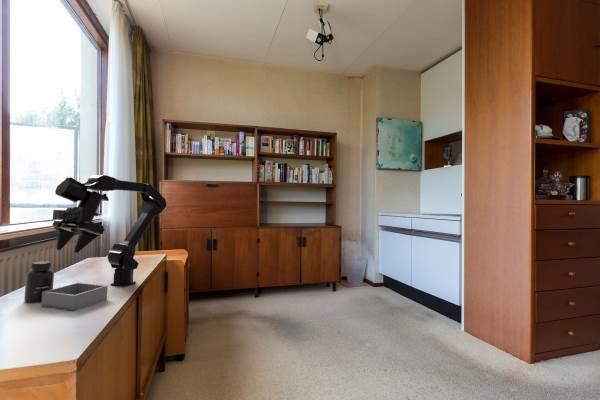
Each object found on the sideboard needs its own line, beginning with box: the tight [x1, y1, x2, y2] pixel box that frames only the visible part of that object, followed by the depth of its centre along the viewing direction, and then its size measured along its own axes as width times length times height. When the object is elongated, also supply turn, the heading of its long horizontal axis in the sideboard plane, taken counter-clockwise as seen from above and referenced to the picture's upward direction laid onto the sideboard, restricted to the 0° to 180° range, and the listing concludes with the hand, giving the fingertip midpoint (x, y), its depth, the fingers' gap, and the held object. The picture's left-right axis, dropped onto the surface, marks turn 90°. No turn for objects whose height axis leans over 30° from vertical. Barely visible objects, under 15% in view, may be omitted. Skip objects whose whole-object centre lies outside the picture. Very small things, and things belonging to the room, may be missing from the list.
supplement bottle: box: [24, 260, 55, 304], centre depth 96 cm, size 7×7×12 cm
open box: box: [40, 282, 108, 312], centre depth 94 cm, size 12×12×4 cm
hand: (66, 251), depth 98 cm, fingers open, 9 cm apart
